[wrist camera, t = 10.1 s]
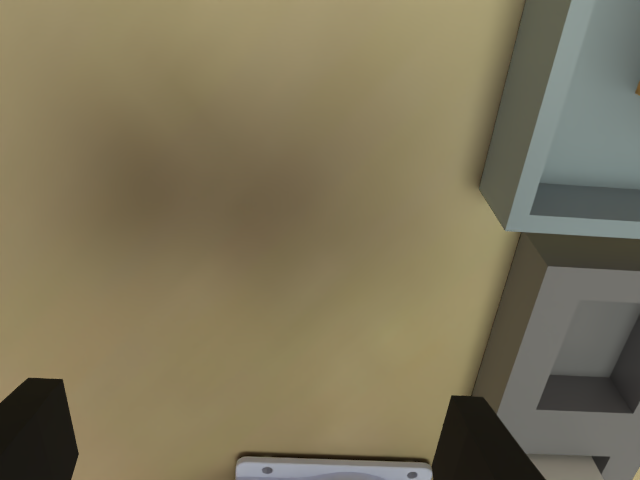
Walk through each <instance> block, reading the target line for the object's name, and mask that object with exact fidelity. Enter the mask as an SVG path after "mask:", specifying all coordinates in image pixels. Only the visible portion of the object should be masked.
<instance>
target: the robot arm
mask: <svg viewBox="0 0 640 480" xmlns="http://www.w3.org/2000/svg"><path fill="white" fill-rule="evenodd" d="M78 455H79V453H78V449H77V444H76V439H75V435H74V430H73V425H72V421H71V416H70V411H69V407H68V402H67V397H66V393H65V388H64V383H63V379H44V378H28V379H26V380H25V381H24V382H23V383H22V384H21V385H20V386H18V387H17V388H16V389H15V390H14V391H13V392H12V393H11V394H10V395H8V396H7V397H6V398H5V399H4V400H3V401H2V402H1V403H0V480H71V478H72V475H73V471H74V468H75V465H76V461H77V458H78ZM432 472H433V480H546V479H545V478H544V476H543V475H542V474H541V473H540V471H539V470H538V469H537V467H536V466H535V465H534V464H533V462H532V461H531V460H530V458H529V457H528V456H527V454H526V453H525V452H524V450H523V449H522V448H521V447H520V445H519V444H518V443H517V441H516V440H515V439H514V437H513V436H512V435H511V433H510V432H509V430H508V429H507V428H506V426H505V425H504V424H503V422H502V421H501V420H500V418H499V417H498V416H497V414H496V413H495V412H494V410H493V409H492V407H491V406H490V405H489V403H488V402H487V401H486V400H485V399H484V397H475V396H451V399H450V403H449V406H448V410H447V413H446V417H445V420H444V424H443V428H442V431H441V435H440V438H439V442H438V445H437V449H436V453H435V456H434V460H433V463H432V468H431V466H430V465H429V464H427V463H423V462H395V461H366V460H337V459H308V458H279V457H250V456H246V457H242V458H239V459H238V460H237V463H236V479H235V480H431V478H432Z"/></svg>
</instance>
